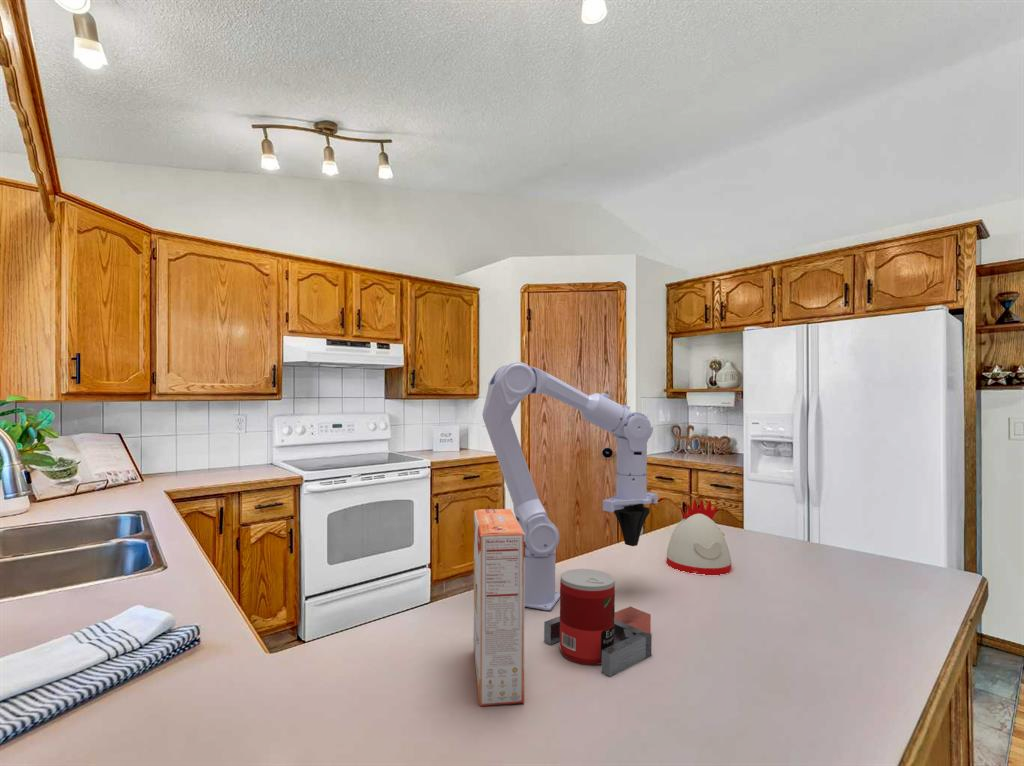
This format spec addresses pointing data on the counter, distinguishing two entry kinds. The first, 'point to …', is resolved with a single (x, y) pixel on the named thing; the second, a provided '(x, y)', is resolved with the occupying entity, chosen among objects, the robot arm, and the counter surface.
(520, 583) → the cracker box
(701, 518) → the kitchen timer
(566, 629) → the canned food
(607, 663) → the clamp
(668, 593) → the counter surface
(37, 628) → the counter surface
